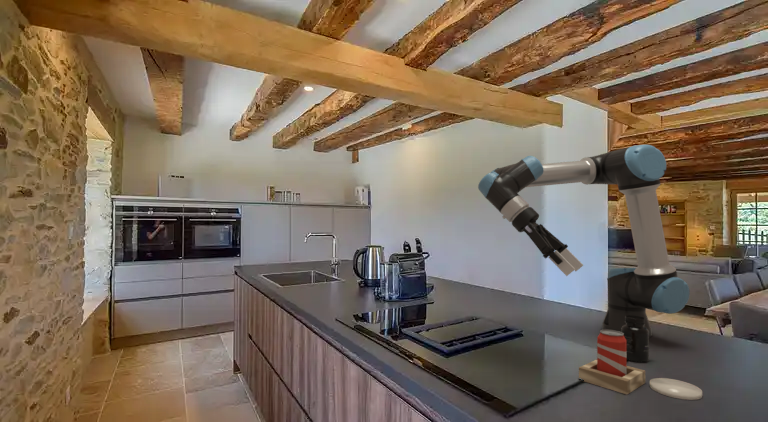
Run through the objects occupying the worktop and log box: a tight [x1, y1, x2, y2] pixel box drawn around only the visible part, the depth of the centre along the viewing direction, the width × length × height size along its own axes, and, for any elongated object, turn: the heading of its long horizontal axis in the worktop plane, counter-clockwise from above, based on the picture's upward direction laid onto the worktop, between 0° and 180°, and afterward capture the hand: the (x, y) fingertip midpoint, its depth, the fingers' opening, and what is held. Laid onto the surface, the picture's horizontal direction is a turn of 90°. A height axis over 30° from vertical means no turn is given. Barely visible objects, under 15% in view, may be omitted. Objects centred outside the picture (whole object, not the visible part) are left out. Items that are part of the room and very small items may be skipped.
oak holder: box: [578, 359, 646, 395], centre depth 100 cm, size 11×11×3 cm
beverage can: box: [596, 329, 628, 377], centre depth 100 cm, size 6×6×12 cm
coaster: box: [649, 377, 703, 401], centre depth 95 cm, size 10×10×1 cm
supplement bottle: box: [621, 315, 650, 363], centre depth 117 cm, size 7×7×12 cm
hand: (575, 270), depth 111 cm, fingers open, 13 cm apart
